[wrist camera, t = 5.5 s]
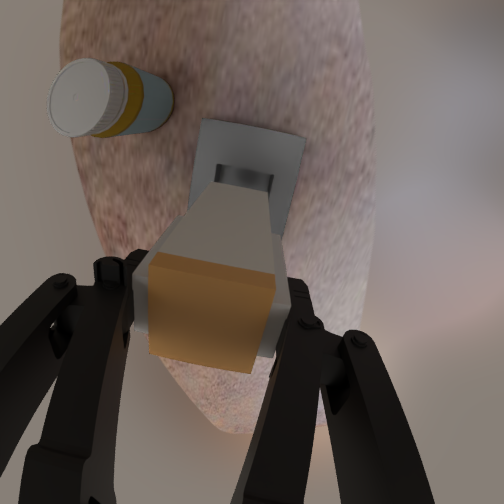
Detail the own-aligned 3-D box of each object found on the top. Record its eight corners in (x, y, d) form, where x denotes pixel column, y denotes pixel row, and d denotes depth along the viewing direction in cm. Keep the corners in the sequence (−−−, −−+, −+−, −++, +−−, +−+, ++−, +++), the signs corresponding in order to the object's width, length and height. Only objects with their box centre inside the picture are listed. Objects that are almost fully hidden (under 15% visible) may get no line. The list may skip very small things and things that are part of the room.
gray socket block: (211, 119, 30) (202, 117, 25) (299, 136, 31) (306, 138, 26) (193, 232, 36) (182, 250, 31) (272, 247, 36) (274, 268, 31)
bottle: (157, 141, 31) (90, 158, 18) (112, 118, 30) (32, 124, 16) (186, 90, 29) (133, 68, 15) (139, 68, 27) (67, 43, 14)
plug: (210, 181, 21) (148, 264, 9) (267, 192, 21) (276, 289, 9) (202, 233, 23) (149, 353, 11) (255, 243, 23) (250, 374, 11)
